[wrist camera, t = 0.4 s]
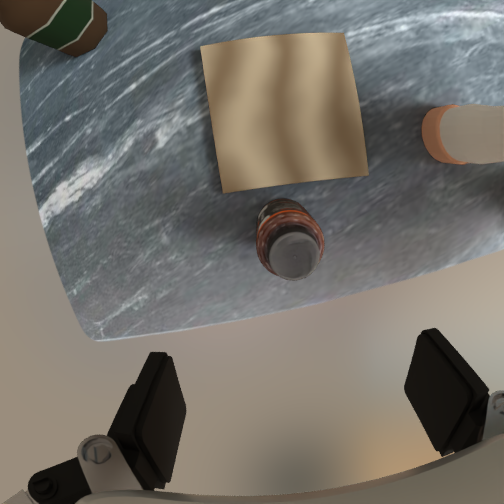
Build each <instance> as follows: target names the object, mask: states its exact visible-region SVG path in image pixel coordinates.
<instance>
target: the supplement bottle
mask: <svg viewBox="0 0 504 504" xmlns="http://www.w3.org/2000/svg"><path fill="white" fill-rule="evenodd" d="M256 248H257V254H258V257H259V259H260V261H261V263H262V264H263V266H264V267H265V268H266V269H267V270H268V271H269V272H271V273H273V274H275V275H277V276H280V277H282V278H284V279H286V280H293V281H294V280H300V279H303V278H306V277H307V276H309V275H310V274H311V273H312V272H313V271H314V270H315V269H316V267H317V265H318V263H319V262H320V260H321V258H322V255H323V252H324V237H323V234H322V231H321V229H320V227H319V225H318V224H317V223H316V221H315V220H314V219H313V218H312V217H311V215H310V214H309V213H308V212H307V211H306V210H305V208H303V207H302V206H301V205H300V204H299V203H297V202H296V201H293V200H290V199H277V200H274V201H271V202H270V203H268V204H267V205H266V206H265V207H264V208H263V209H262V210H261V211H260V213H259V216H258V219H257V224H256Z"/></svg>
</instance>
